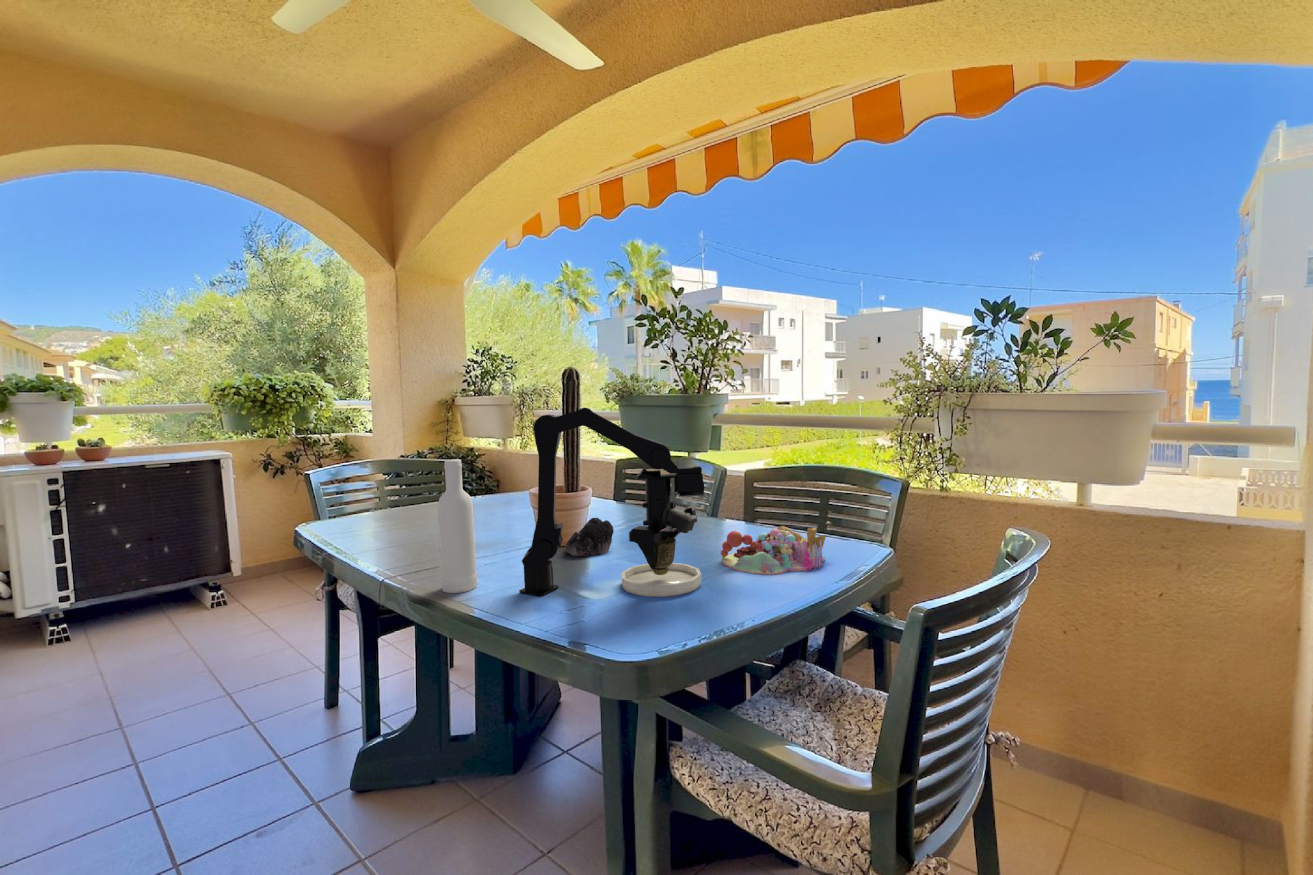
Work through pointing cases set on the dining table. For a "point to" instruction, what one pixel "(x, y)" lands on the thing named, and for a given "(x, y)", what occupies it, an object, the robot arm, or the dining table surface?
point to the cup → (665, 556)
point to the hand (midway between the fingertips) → (660, 565)
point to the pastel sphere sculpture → (774, 551)
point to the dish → (661, 580)
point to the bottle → (456, 533)
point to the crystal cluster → (591, 539)
